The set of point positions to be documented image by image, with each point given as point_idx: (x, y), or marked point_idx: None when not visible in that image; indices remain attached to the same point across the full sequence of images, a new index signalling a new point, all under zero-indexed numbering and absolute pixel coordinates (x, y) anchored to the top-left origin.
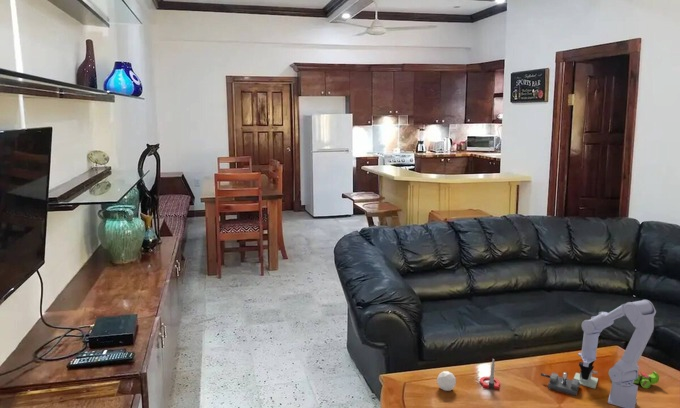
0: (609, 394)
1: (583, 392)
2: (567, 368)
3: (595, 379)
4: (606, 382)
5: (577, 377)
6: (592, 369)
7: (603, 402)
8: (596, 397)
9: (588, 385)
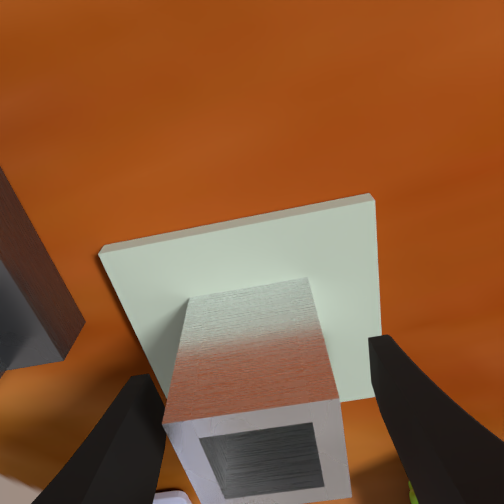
0: (162, 499)
1: (19, 375)
2: (478, 30)
3: (342, 387)
4: (375, 431)
5: (243, 261)
6: (333, 491)
7: (32, 488)
8: (50, 450)
9: (162, 382)
